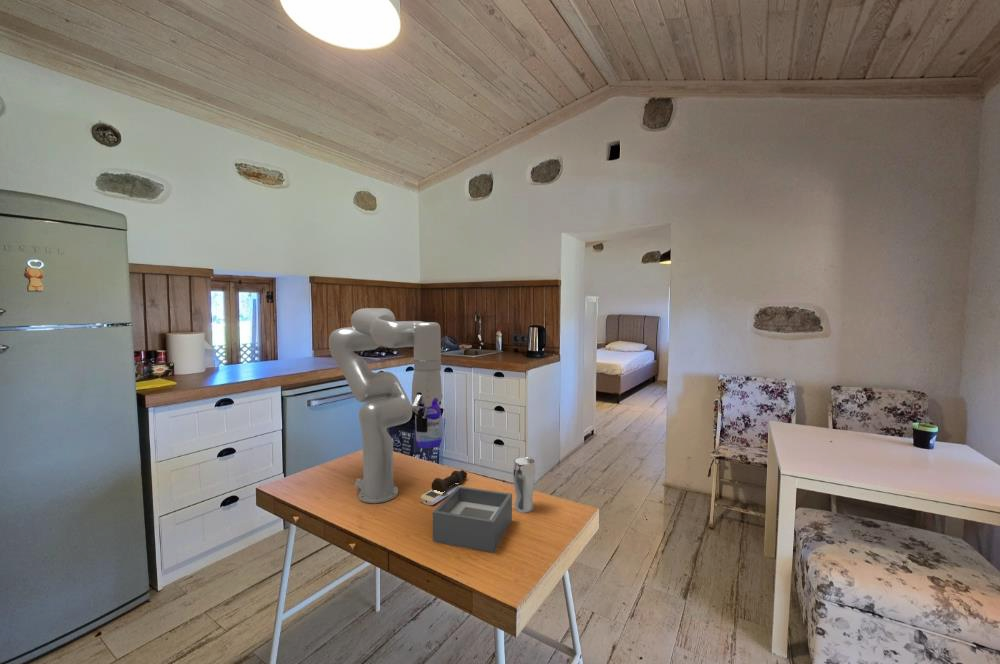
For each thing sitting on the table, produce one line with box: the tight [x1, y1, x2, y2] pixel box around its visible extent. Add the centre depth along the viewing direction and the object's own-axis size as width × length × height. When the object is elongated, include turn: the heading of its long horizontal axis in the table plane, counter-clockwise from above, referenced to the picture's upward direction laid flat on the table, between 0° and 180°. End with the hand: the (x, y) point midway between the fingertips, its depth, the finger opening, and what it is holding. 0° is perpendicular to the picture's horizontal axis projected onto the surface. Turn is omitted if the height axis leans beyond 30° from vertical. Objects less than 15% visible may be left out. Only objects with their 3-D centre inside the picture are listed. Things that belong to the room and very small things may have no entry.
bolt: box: [431, 469, 468, 492], centre depth 145 cm, size 6×5×15 cm
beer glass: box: [512, 456, 537, 514], centre depth 129 cm, size 7×7×15 cm
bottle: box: [414, 398, 443, 449], centre depth 119 cm, size 7×6×17 cm
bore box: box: [432, 485, 513, 554], centre depth 116 cm, size 17×17×8 cm
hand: (428, 427), depth 119 cm, fingers closed on bottle, 6 cm apart
